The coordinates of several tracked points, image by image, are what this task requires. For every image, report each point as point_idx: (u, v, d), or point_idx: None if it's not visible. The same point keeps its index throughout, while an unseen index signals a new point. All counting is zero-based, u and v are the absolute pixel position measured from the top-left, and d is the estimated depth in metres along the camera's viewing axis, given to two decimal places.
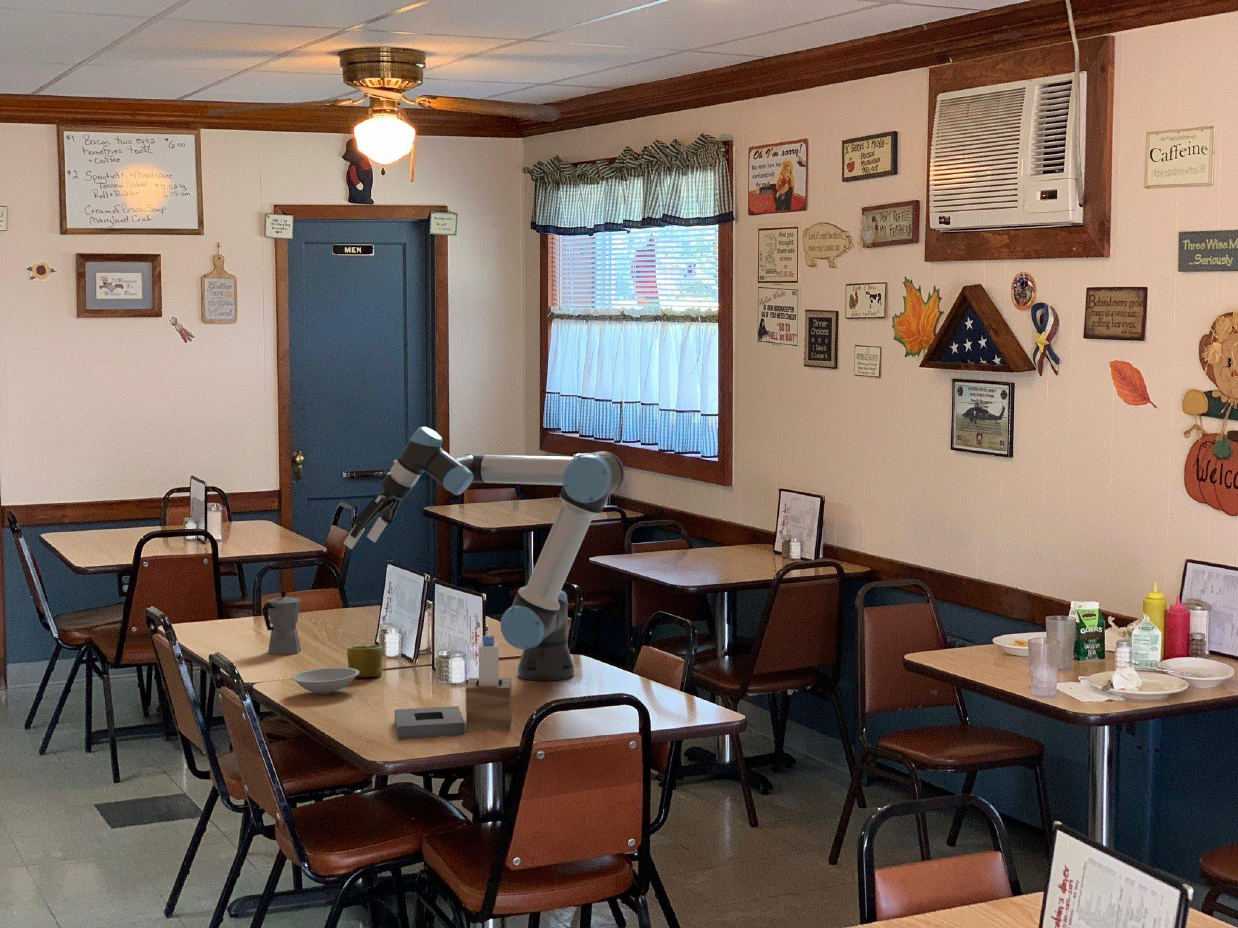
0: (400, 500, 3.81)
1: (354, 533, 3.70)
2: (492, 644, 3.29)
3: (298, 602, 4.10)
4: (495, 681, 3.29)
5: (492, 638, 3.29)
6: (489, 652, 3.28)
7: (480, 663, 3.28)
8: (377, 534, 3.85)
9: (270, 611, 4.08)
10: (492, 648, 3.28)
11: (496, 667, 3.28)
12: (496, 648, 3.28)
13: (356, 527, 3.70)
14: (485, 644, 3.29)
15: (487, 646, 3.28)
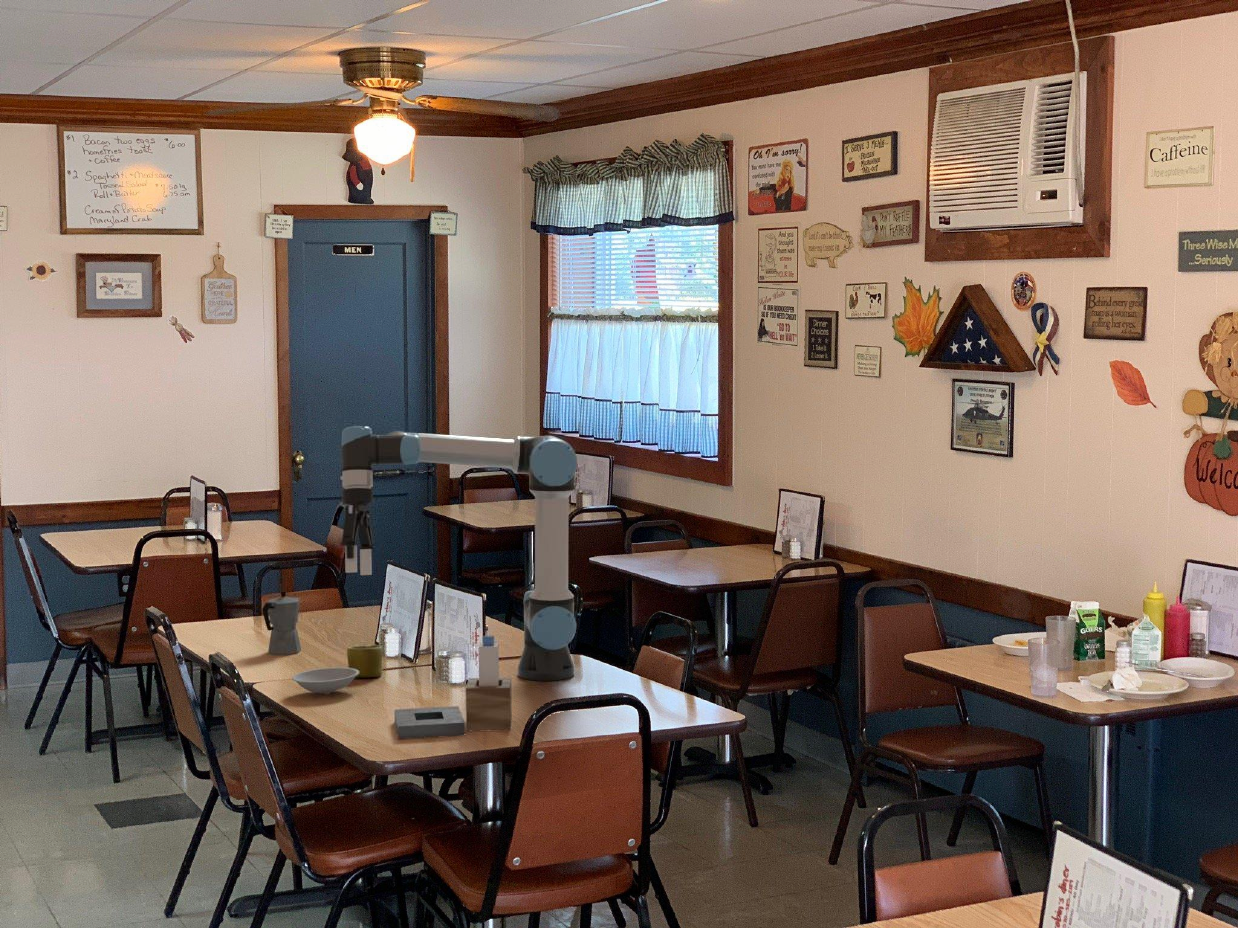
0: (369, 518, 3.60)
1: (350, 553, 3.44)
2: (492, 644, 3.29)
3: (298, 602, 4.10)
4: (495, 681, 3.29)
5: (492, 638, 3.29)
6: (489, 652, 3.28)
7: (480, 663, 3.28)
8: (369, 565, 3.58)
9: (270, 611, 4.08)
10: (492, 648, 3.28)
11: (496, 667, 3.28)
12: (496, 648, 3.28)
13: (348, 546, 3.44)
14: (485, 644, 3.29)
15: (487, 646, 3.28)
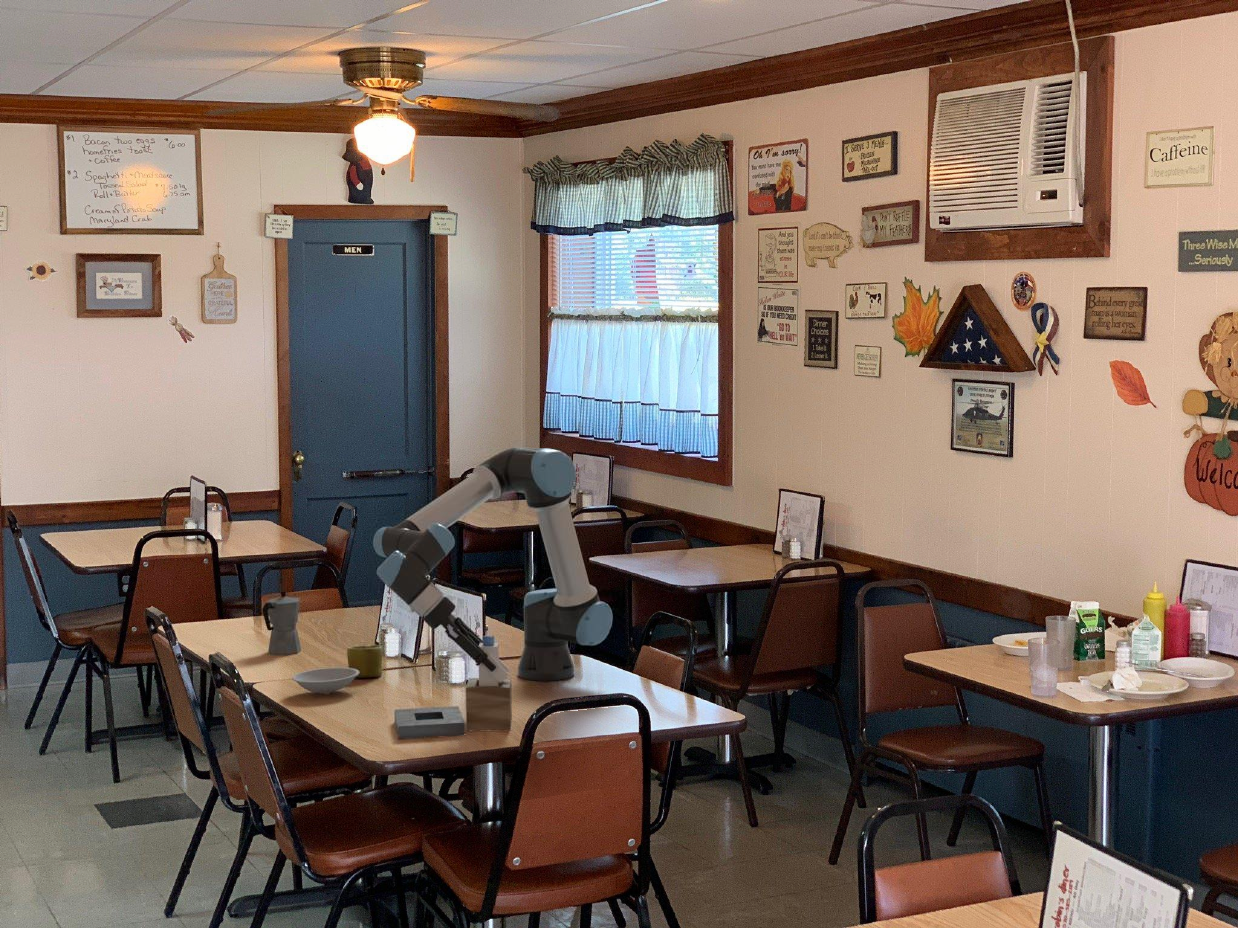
0: (463, 622, 3.35)
1: (491, 665, 3.26)
2: (492, 644, 3.29)
3: (298, 602, 4.10)
4: (495, 681, 3.29)
5: (492, 638, 3.29)
6: (489, 652, 3.28)
7: None
8: (500, 663, 3.33)
9: (270, 611, 4.08)
10: (492, 648, 3.28)
11: None
12: (496, 648, 3.28)
13: (484, 662, 3.26)
14: (485, 644, 3.29)
15: (487, 646, 3.28)
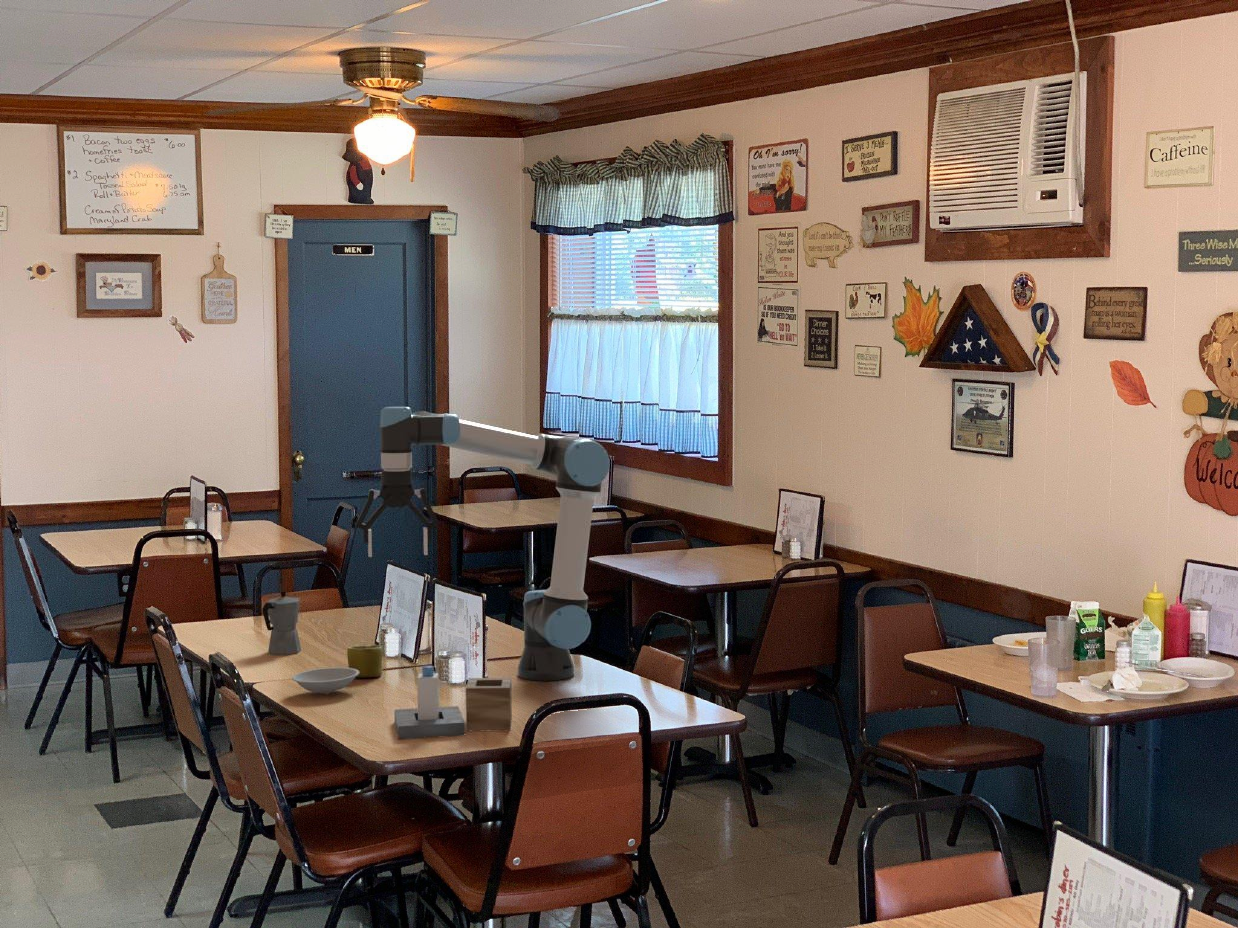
0: (422, 497, 3.50)
1: (363, 538, 3.49)
2: (431, 675, 3.27)
3: (298, 602, 4.10)
4: (435, 712, 3.26)
5: (431, 669, 3.27)
6: (428, 682, 3.26)
7: (419, 694, 3.26)
8: (424, 544, 3.51)
9: (270, 611, 4.08)
10: (431, 679, 3.26)
11: (435, 698, 3.26)
12: (435, 679, 3.26)
13: (363, 531, 3.49)
14: (424, 675, 3.27)
15: (426, 677, 3.26)
